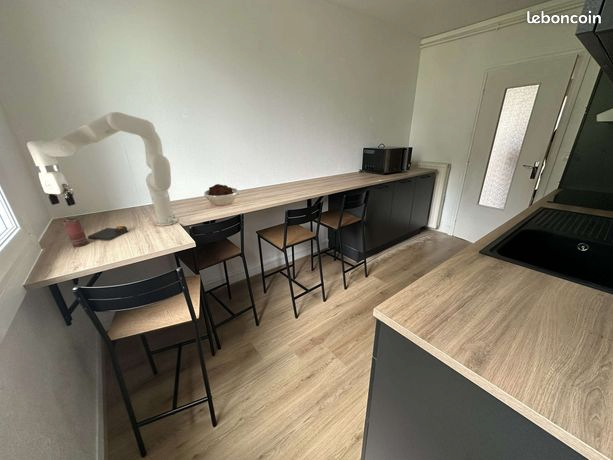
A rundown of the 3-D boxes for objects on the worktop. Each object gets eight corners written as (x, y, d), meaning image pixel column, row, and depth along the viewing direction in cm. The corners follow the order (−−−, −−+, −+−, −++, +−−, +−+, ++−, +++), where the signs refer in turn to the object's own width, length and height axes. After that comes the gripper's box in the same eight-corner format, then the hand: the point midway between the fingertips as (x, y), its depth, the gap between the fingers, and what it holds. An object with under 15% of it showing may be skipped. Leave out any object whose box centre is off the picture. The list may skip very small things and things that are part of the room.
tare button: (124, 228, 145) (123, 225, 145) (120, 229, 143) (119, 227, 142) (120, 227, 146) (119, 225, 145) (116, 229, 143) (116, 227, 143)
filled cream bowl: (238, 197, 210) (236, 179, 204) (240, 206, 188) (238, 186, 182) (206, 200, 203) (203, 181, 197) (205, 210, 181) (201, 189, 175)
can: (78, 242, 134) (68, 218, 129) (91, 241, 135) (81, 217, 129) (69, 247, 129) (58, 222, 123) (82, 247, 129) (72, 222, 123)
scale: (130, 231, 147) (128, 226, 146) (110, 240, 136) (108, 235, 135) (109, 229, 150) (107, 224, 149) (88, 238, 139) (86, 233, 137)
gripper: (24, 169, 114) (41, 205, 121) (55, 171, 111) (70, 208, 118) (43, 167, 121) (58, 201, 128) (72, 168, 117) (85, 203, 124)
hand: (63, 204), depth 123 cm, fingers open, 9 cm apart
